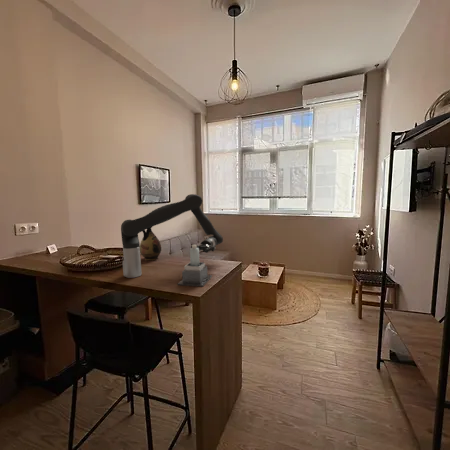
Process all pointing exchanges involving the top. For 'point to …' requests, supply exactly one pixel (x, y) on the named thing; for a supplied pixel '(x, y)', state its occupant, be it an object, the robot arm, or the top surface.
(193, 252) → the bottle
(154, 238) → the ceramic jug
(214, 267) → the top surface
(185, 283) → the grey socket base
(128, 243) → the robot arm
